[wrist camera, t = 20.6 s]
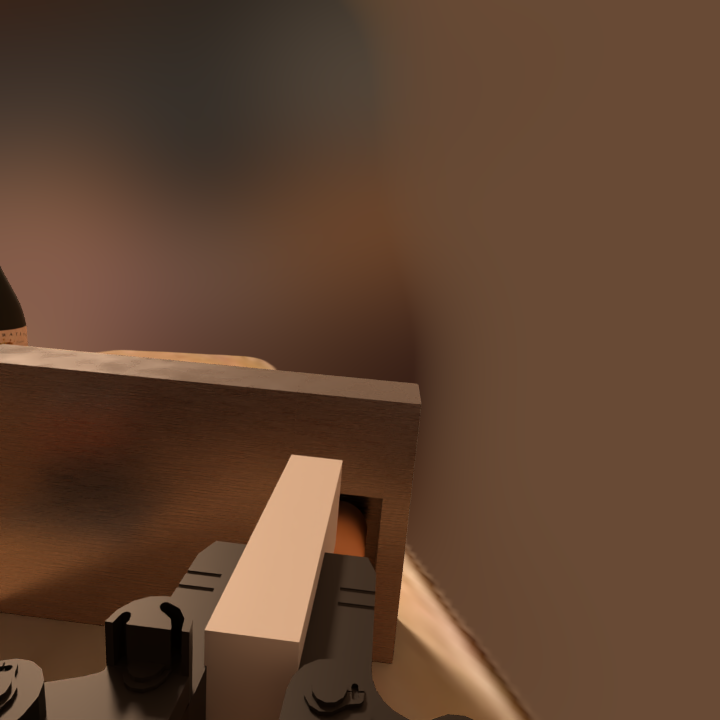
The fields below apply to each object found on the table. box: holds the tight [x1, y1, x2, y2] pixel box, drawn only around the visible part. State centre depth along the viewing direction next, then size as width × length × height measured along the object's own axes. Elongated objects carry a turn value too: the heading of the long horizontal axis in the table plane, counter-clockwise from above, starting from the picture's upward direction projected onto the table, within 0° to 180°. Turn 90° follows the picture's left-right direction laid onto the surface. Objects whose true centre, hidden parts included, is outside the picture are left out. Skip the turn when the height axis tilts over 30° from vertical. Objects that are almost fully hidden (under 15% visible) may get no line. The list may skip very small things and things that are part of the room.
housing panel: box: [0, 344, 421, 663], centre depth 29 cm, size 26×4×16 cm, turn 86°
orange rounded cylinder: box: [334, 500, 367, 557], centre depth 26 cm, size 4×5×4 cm
